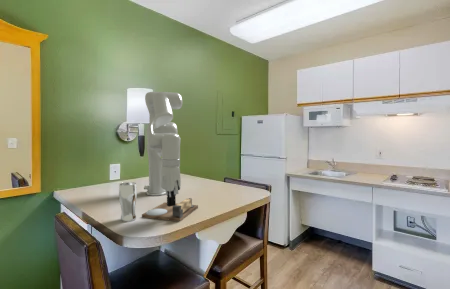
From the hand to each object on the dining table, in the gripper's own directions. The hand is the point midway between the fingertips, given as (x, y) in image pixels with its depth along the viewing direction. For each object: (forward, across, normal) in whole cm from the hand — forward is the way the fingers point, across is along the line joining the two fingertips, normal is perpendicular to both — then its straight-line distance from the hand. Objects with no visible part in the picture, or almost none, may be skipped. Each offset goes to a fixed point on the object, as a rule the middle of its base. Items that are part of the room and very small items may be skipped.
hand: (171, 205), depth 105 cm
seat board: (+5, -6, +3) cm, 8 cm away
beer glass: (+5, -9, -15) cm, 18 cm away
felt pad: (+4, -6, -4) cm, 8 cm away
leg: (+3, +1, +5) cm, 6 cm away
